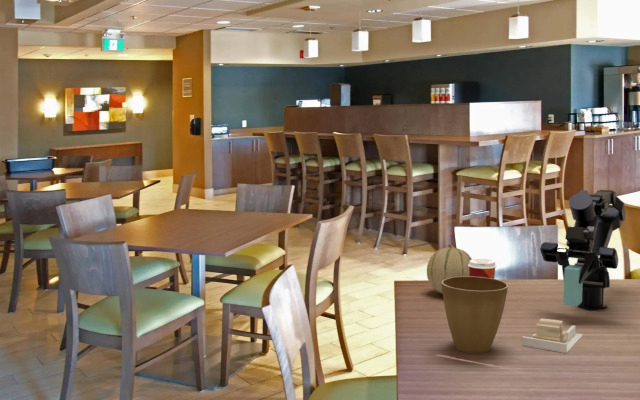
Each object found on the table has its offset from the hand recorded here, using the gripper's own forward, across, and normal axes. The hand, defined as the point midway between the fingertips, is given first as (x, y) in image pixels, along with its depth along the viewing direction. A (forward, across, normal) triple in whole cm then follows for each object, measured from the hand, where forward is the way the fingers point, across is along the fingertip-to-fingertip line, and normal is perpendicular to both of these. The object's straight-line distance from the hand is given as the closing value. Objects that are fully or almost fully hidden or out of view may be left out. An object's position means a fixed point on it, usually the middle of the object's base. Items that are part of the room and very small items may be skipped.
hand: (572, 281), depth 178 cm
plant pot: (+30, -14, -14) cm, 36 cm away
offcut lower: (+21, 0, -6) cm, 22 cm away
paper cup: (+7, -25, +10) cm, 27 cm away
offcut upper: (+20, 0, -8) cm, 21 cm away
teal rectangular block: (+3, 0, +5) cm, 6 cm away
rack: (+19, 0, -3) cm, 19 cm away
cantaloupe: (-1, -39, +18) cm, 43 cm away
